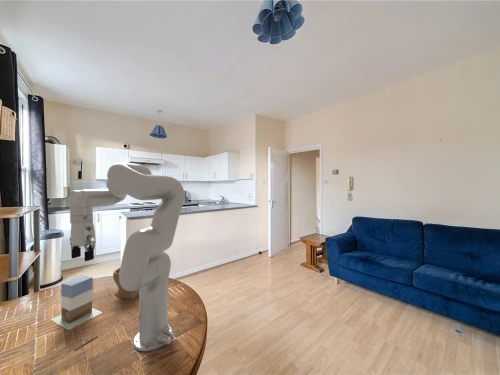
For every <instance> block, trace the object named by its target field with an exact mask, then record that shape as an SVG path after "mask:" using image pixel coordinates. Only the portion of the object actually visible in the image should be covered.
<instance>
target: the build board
mask: <svg viewBox="0 0 500 375" xmlns="http://www.w3.org/2000/svg"><path fill="white" fill-rule="evenodd" d="M101 314H103V311H100V310H98V309H96V308H94V307H92V313H90V314H88V315H86V316H84V317H82V318H80V319H78V320H76V321H74V322H72V323H70V324H69V323H67V322H65V321H63V320H62V319H61V314H59V315H57V316H55V317H53V318H50V321H52V322H53V323H54V324H55V323H56V324H57V325H59V326H60V327H62V328H63V329H66V330H67V331H70V330H72V329H74V328H75V327H77V326H79V325H82V324H83V323H85V322H87V321H89V320H91V319H93V318H95V317H97V316H98V315H101Z"/></svg>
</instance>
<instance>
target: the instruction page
mask: <svg viewBox="0 0 500 375" xmlns="http://www.w3.org/2000/svg"><path fill="white" fill-rule="evenodd" d="M97 339H99V336H95V337H93V338H92V339H90V340H89V341H87V342H85V343H83V344H82V345H80V346H79V347H76V348H75V349H74V350H73V351H74V352H77V351H79V350H80V349H82V348H84V347H86V346H87V345H88V344H90V343H92V342H94V341H95V340H97Z"/></svg>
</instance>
